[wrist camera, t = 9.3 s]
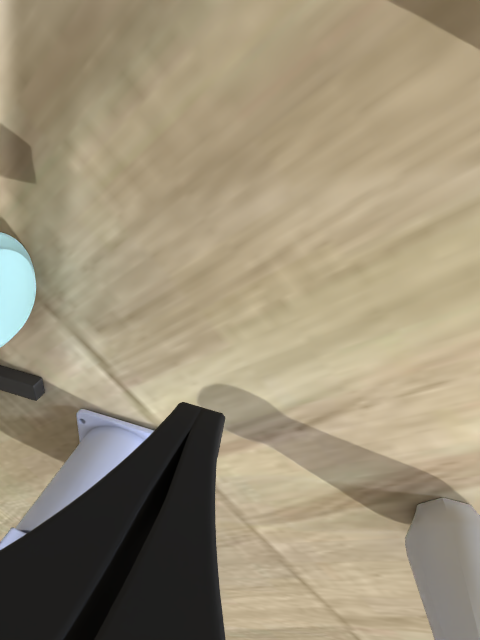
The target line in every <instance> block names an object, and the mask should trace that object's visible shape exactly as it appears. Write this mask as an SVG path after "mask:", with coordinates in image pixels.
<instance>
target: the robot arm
mask: <svg viewBox="0 0 480 640" xmlns="http://www.w3.org/2000/svg"><path fill="white" fill-rule="evenodd" d="M76 416H77V424H78V432H79V440H80V444H79V445H78V446H77V447H76V449H75V450H74V451H73V453H72V454H71V455H70V457H69V458H68V459H67V461H66V462H65V463H64V465H63V466H62V467H61V468H60V470H59V471H58V472H57V474H56V475H55V476H54V478H53V479H52V480H51V482H50V483H49V484H48V486H47V487H46V488H45V489H44V491H43V492H42V493H41V495H40V496H39V497H38V499H37V500H36V501H35V503H34V504H33V505H32V507H31V508H30V509H29V510H28V512H27V513H26V514H25V516H24V517H23V518H22V520H21V521H20V522H19V524H18V525H17V526H16V528H11V529H10V530H9V531H8V533H7V534H6V535H5V537H4V538H3V539H2V541H1V542H0V640H225V632H224V623H223V615H222V606H221V598H220V589H219V577H218V565H217V550H216V529H215V482H216V463H217V457H218V453H219V447H220V442H221V437H222V432H223V427H224V422H225V416H224V415H223V414H222V413H219V412H216V411H212V410H209V409H205V408H202V407H199V406H195V405H192V404H188V403H185V402H182V403H179V404H178V406H177V407H176V408H175V409H174V410H173V411H172V413H171V414H170V415H169V416H168V417H167V418H166V419H165V420H164V421H163V422H162V423H161V424H160V426H159V427H158V428H157V429H156V430H155V431H154V430H151V429H148V428H144V427H141V426H138V425H135V424H131V423H128V422H125V421H122V420H118V419H115V418H112V417H109V416H105V415H102V414H99V413H95V412H92V411H89V410H86V409H80V410H79V411H78V412H77V413H76Z"/></svg>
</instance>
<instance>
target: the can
mask: <svg viewBox="0 0 480 640" xmlns="http://www.w3.org/2000/svg"><path fill="white" fill-rule="evenodd" d="M35 295H36V280H35V272H34V268H33V264H32V261H31V259H30V256H29V254H28V253H27V251H26V249H25V248H24V247H23V246H22V244H21V243H20V242H18V241H17V240H16V239H15V238H13V237H11V236H10V235H7V234H5V233H1V232H0V347H2V346H3V345H5V344H6V343H7V342H8V341H9V340H11V339H12V338H13V337H14V336H15V334H17V332H18V331H19V330H20V329H21V328H22V327H23V325H24V324H25V322H26V321H27V319H28V317H29V315H30V313H31V311H32V308H33V305H34V301H35Z"/></svg>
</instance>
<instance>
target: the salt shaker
mask: <svg viewBox="0 0 480 640" xmlns="http://www.w3.org/2000/svg"><path fill="white" fill-rule="evenodd" d="M405 546H406V551H407V556H408V559H409V563H410V566H411V569H412V572H413V575H414V578H415V581H416V584H417V587H418V590H419V593H420V596H421V599H422V602H423V605H424V608H425V611H426V614H427V617H428V621H429V624H430V627H431V630H432V633H433V636H434V639H435V640H480V515H479V514H478V513H477V512H476V510H475V509H474V508H473V507H472V506H471V505H469V504H466V503H462V502H458V501H454V500H451V499H447V498H443V497H442V498H439V499H435V500H432V501H428V502H425V503H421V504H418V505H417V508H416V513H415V515H414V518H413V520H412V523H411V525H410V527H409V530H408V532H407V535H406V537H405Z"/></svg>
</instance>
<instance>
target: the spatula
mask: <svg viewBox="0 0 480 640" xmlns="http://www.w3.org/2000/svg"><path fill="white" fill-rule="evenodd" d="M0 390H2V391H6V392H9V393H12V394H15V395H19V396H22V397H25V398H28V399H31V400H35V401H37V400H38V399H39V398H40V397H41V396H42V395H43V394H44V393H45V391H44V386H43V380H42V378H40V377H37V376H34V375H31V374H27V373H24V372H21V371H17V370H14V369H11V368H7V367H4V366H1V365H0Z"/></svg>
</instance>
